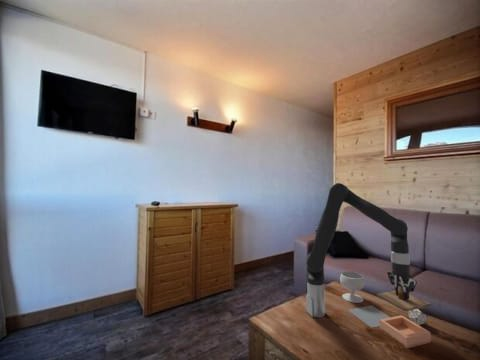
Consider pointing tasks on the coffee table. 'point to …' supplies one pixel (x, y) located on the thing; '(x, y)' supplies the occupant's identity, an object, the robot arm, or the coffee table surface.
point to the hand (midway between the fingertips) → (402, 297)
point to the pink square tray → (405, 331)
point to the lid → (403, 300)
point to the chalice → (352, 285)
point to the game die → (417, 317)
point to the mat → (369, 315)
